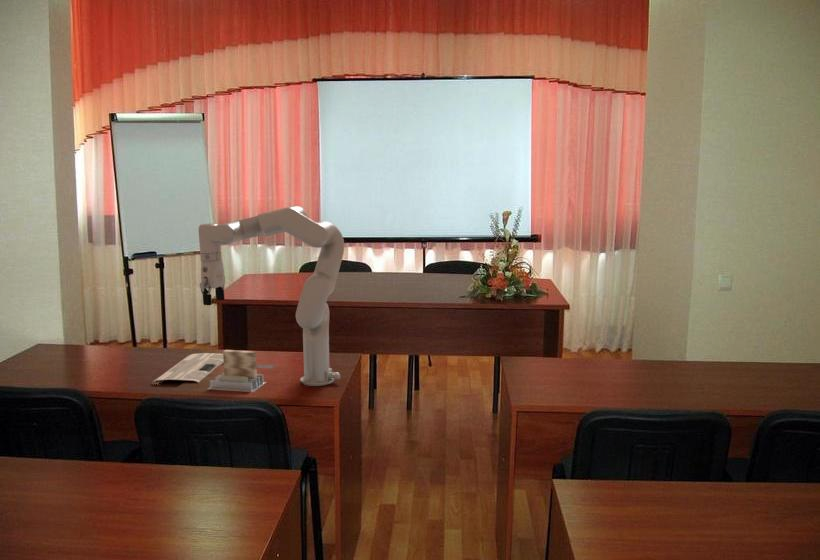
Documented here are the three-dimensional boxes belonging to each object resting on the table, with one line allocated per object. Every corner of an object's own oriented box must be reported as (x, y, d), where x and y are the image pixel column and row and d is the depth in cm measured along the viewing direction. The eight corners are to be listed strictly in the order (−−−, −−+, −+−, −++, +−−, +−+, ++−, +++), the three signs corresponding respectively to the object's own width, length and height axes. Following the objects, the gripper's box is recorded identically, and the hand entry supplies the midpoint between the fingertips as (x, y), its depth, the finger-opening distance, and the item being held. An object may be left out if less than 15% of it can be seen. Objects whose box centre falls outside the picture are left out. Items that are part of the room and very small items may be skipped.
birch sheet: (257, 383, 277) (255, 351, 275) (255, 384, 275) (253, 352, 273) (227, 381, 280) (225, 349, 278) (224, 382, 278) (223, 351, 276)
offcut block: (248, 387, 272) (248, 376, 271) (244, 389, 269) (244, 379, 268) (222, 385, 274) (222, 375, 273) (219, 388, 271) (218, 377, 271)
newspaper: (198, 386, 278) (198, 379, 278) (148, 386, 280) (147, 378, 279) (229, 359, 314) (229, 353, 314) (184, 359, 316) (184, 352, 315)
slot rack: (267, 384, 279) (266, 374, 278) (253, 394, 267) (253, 383, 266) (222, 381, 282) (221, 371, 282) (207, 391, 271) (206, 380, 270)
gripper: (208, 260, 270) (212, 307, 272) (231, 254, 286) (234, 298, 289) (189, 260, 271) (193, 306, 274) (213, 253, 288) (216, 297, 291)
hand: (214, 302), depth 282 cm, fingers open, 9 cm apart
